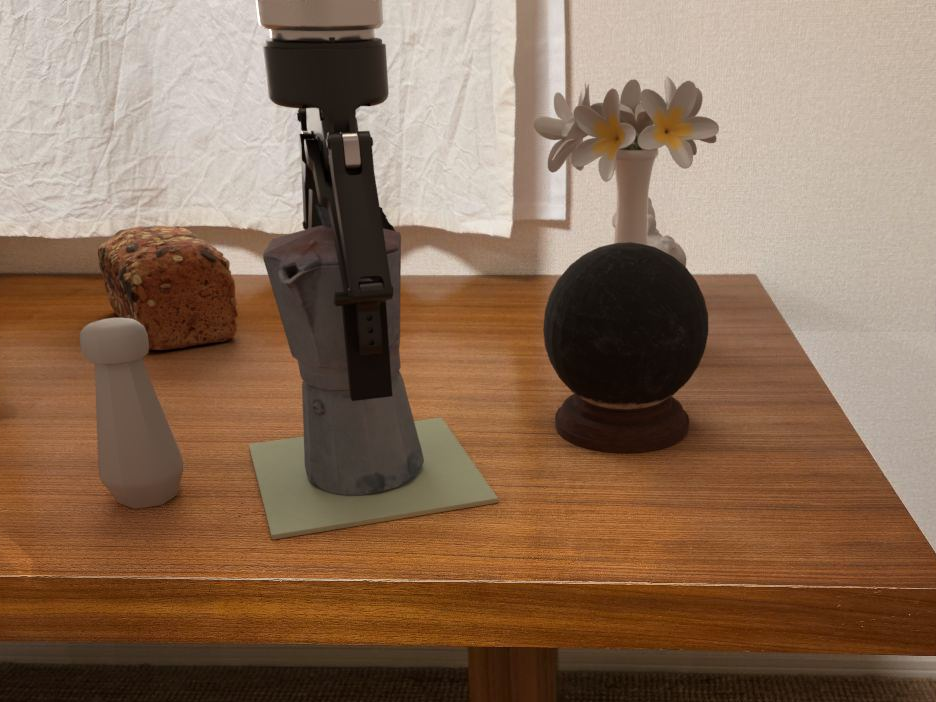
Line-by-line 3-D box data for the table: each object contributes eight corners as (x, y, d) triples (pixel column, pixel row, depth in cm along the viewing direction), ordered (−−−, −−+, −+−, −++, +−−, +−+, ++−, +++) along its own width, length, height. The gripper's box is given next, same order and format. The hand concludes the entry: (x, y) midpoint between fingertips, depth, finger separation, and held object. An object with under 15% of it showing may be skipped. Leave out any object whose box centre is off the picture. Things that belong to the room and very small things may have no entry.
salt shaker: (92, 495, 74) (49, 322, 67) (166, 471, 77) (131, 304, 71) (128, 522, 70) (86, 342, 64) (203, 496, 74) (171, 322, 67)
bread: (245, 341, 105) (230, 243, 100) (138, 358, 100) (117, 257, 95) (201, 297, 119) (186, 210, 114) (105, 310, 114) (86, 220, 109)
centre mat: (272, 540, 68) (271, 535, 68) (249, 448, 81) (248, 443, 81) (498, 502, 73) (498, 497, 72) (442, 421, 86) (441, 417, 86)
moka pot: (259, 507, 71) (212, 216, 61) (346, 424, 84) (319, 173, 74) (385, 521, 69) (359, 223, 59) (455, 434, 82) (442, 178, 72)
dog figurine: (637, 279, 125) (641, 189, 120) (691, 305, 115) (697, 209, 110) (599, 284, 123) (601, 193, 118) (650, 311, 113) (654, 213, 108)
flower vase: (575, 315, 112) (578, 67, 100) (729, 344, 103) (753, 75, 91) (508, 347, 102) (502, 78, 90) (671, 382, 94) (689, 88, 81)
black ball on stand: (510, 428, 84) (507, 246, 77) (608, 385, 93) (613, 218, 86) (637, 473, 77) (647, 276, 69) (730, 422, 85) (748, 242, 78)
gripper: (432, 47, 53) (448, 421, 63) (348, 23, 73) (370, 309, 84) (287, 49, 51) (328, 437, 61) (242, 24, 71) (278, 318, 82)
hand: (352, 364), depth 73 cm, fingers open, 13 cm apart
